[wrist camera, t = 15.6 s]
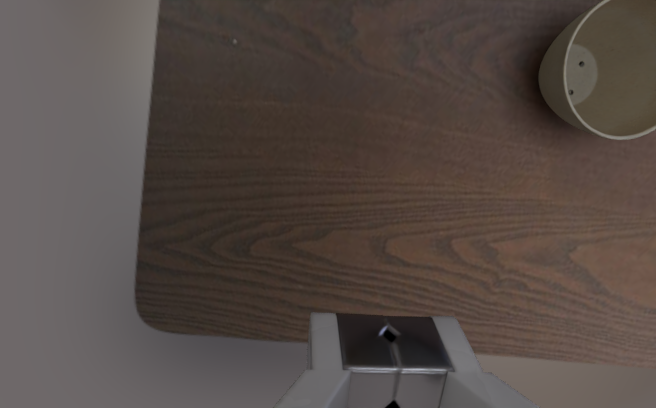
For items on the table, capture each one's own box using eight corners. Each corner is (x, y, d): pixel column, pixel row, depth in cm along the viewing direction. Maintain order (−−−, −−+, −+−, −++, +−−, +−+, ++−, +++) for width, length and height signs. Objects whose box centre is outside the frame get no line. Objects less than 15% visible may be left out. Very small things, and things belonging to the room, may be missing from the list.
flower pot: (641, 63, 39) (722, 52, 32) (568, 157, 40) (631, 167, 33) (562, -15, 37) (631, -44, 30) (486, 87, 38) (536, 82, 31)
